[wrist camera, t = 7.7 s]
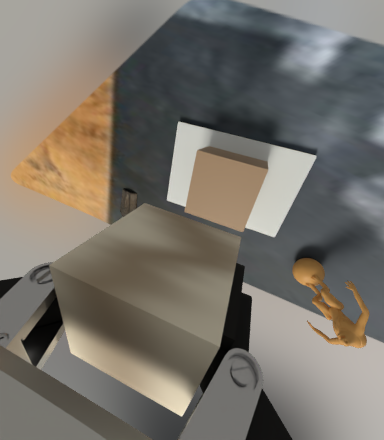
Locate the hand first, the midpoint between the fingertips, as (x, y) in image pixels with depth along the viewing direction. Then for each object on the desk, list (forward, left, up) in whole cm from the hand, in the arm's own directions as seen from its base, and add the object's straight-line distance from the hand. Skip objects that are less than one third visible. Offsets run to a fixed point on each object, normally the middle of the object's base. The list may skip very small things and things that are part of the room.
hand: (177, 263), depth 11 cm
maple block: (0, 0, -1) cm, 1 cm away
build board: (0, 0, -20) cm, 20 cm away
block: (+17, +10, -21) cm, 29 cm away
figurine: (-16, +9, -20) cm, 27 cm away
